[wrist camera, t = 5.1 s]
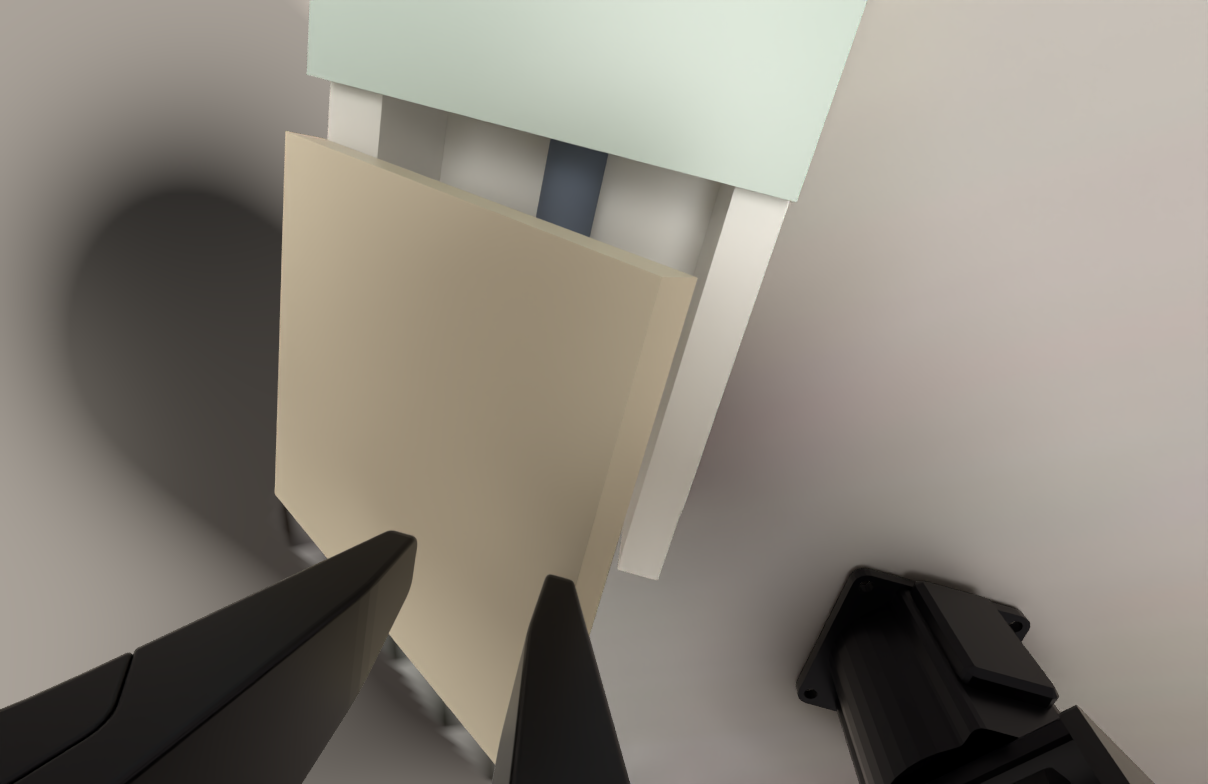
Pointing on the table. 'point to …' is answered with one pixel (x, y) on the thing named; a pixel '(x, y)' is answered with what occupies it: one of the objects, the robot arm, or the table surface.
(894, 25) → the table surface
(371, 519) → the lid inner
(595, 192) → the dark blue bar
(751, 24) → the lid outer
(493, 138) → the white tray
